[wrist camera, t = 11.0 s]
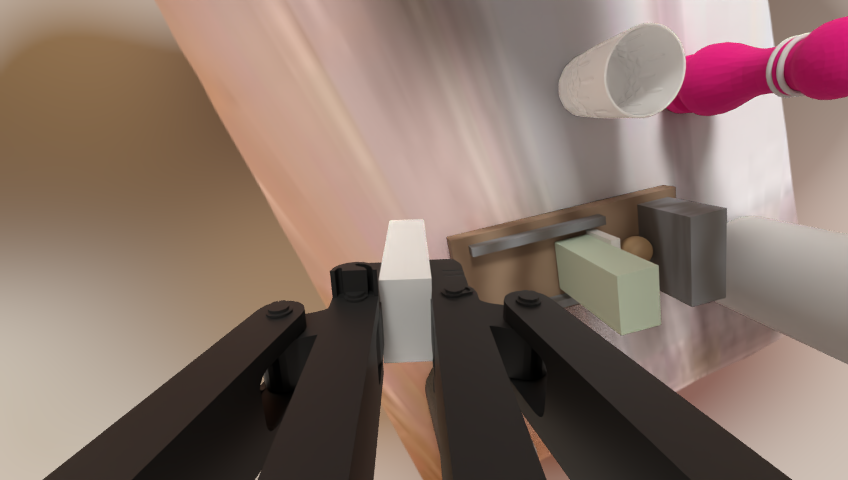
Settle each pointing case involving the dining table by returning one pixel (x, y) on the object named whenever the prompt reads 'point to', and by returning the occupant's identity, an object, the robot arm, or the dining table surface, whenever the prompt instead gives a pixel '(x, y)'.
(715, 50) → the pink bowling pin
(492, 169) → the dining table surface
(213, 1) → the dining table surface
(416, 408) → the dining table surface
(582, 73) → the white cup
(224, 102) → the dining table surface
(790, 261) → the cylinder vase
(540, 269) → the press bench
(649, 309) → the block
